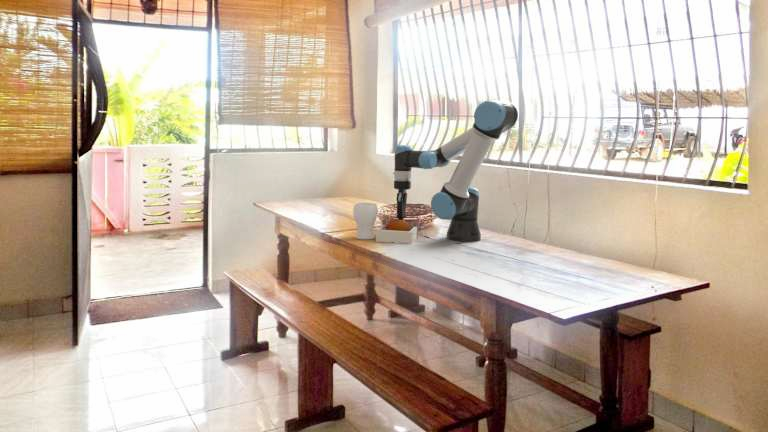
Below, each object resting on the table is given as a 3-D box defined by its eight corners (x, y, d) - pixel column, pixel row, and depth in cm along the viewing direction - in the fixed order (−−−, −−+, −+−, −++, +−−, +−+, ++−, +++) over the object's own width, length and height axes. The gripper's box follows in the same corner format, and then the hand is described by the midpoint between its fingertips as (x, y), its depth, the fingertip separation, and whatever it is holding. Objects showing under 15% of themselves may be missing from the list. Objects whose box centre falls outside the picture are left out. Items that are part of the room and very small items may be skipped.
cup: (374, 240, 269) (374, 206, 267) (350, 239, 271) (350, 205, 269) (379, 236, 279) (380, 203, 277) (356, 235, 281) (356, 201, 279)
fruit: (414, 239, 275) (414, 221, 274) (394, 241, 269) (395, 222, 268) (400, 235, 284) (400, 217, 282) (381, 237, 278) (381, 219, 277)
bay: (383, 234, 283) (383, 219, 282) (417, 237, 280) (418, 221, 279) (375, 241, 268) (375, 225, 267) (411, 243, 265) (412, 227, 264)
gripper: (397, 178, 286) (395, 229, 290) (391, 181, 274) (389, 234, 278) (413, 179, 285) (411, 230, 289) (408, 181, 272) (406, 235, 276)
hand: (400, 232), depth 283 cm, fingers closed
